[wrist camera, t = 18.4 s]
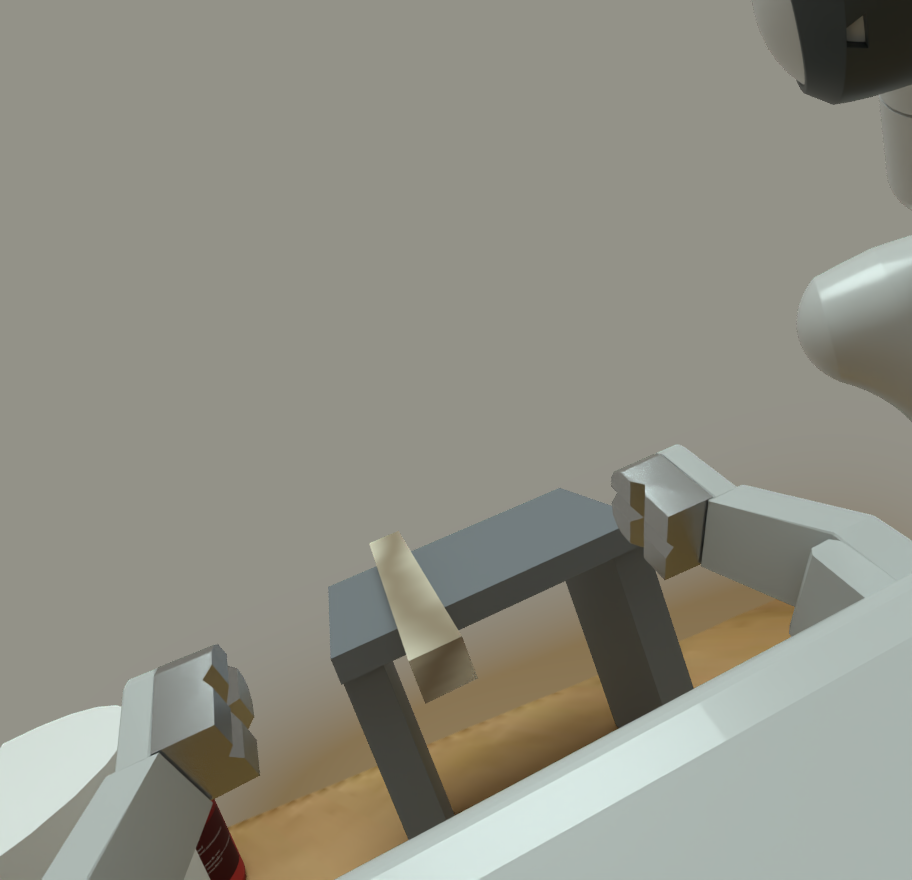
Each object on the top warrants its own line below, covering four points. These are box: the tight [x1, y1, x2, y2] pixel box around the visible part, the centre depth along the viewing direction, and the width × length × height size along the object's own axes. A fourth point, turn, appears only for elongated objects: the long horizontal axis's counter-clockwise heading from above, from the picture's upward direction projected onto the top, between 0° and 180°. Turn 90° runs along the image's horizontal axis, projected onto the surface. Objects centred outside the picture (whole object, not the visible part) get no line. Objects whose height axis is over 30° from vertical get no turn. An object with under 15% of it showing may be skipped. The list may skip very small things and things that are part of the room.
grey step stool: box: [328, 488, 694, 840], centre depth 51 cm, size 25×16×26 cm, turn 103°
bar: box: [369, 531, 478, 703], centre depth 43 cm, size 3×26×2 cm, turn 14°
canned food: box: [196, 799, 246, 880], centre depth 57 cm, size 8×8×11 cm
